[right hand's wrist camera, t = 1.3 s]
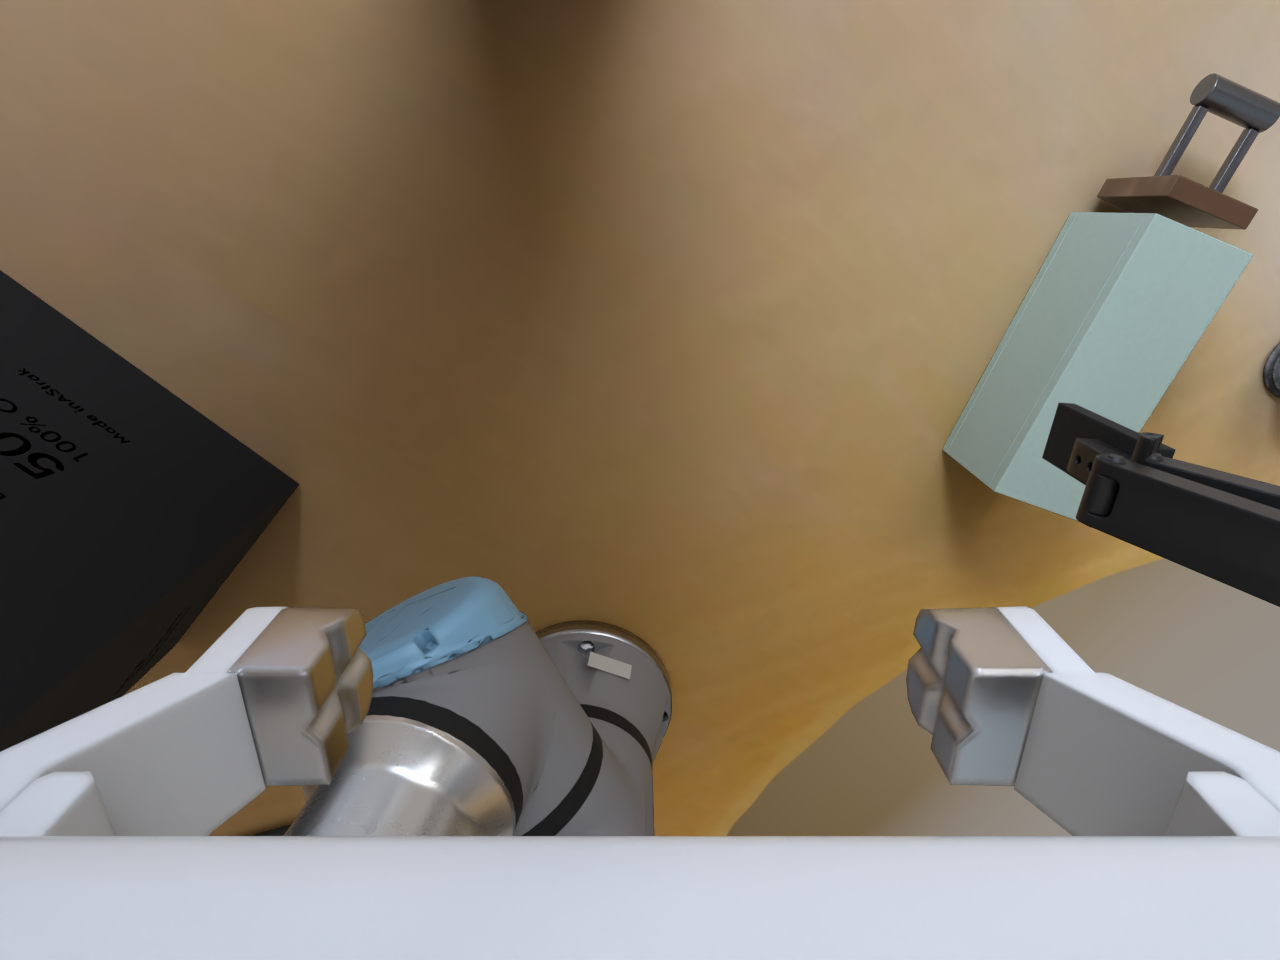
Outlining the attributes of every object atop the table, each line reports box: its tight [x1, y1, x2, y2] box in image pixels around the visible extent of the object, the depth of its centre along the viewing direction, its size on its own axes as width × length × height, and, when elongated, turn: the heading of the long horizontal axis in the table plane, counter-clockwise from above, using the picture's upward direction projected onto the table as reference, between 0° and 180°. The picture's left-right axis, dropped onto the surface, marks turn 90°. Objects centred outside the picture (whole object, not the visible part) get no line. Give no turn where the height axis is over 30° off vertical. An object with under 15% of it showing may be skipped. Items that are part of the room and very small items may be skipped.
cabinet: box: [942, 212, 1253, 522], centre depth 48 cm, size 18×7×9 cm, turn 160°
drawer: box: [1097, 74, 1280, 229], centre depth 46 cm, size 23×6×7 cm, turn 160°
